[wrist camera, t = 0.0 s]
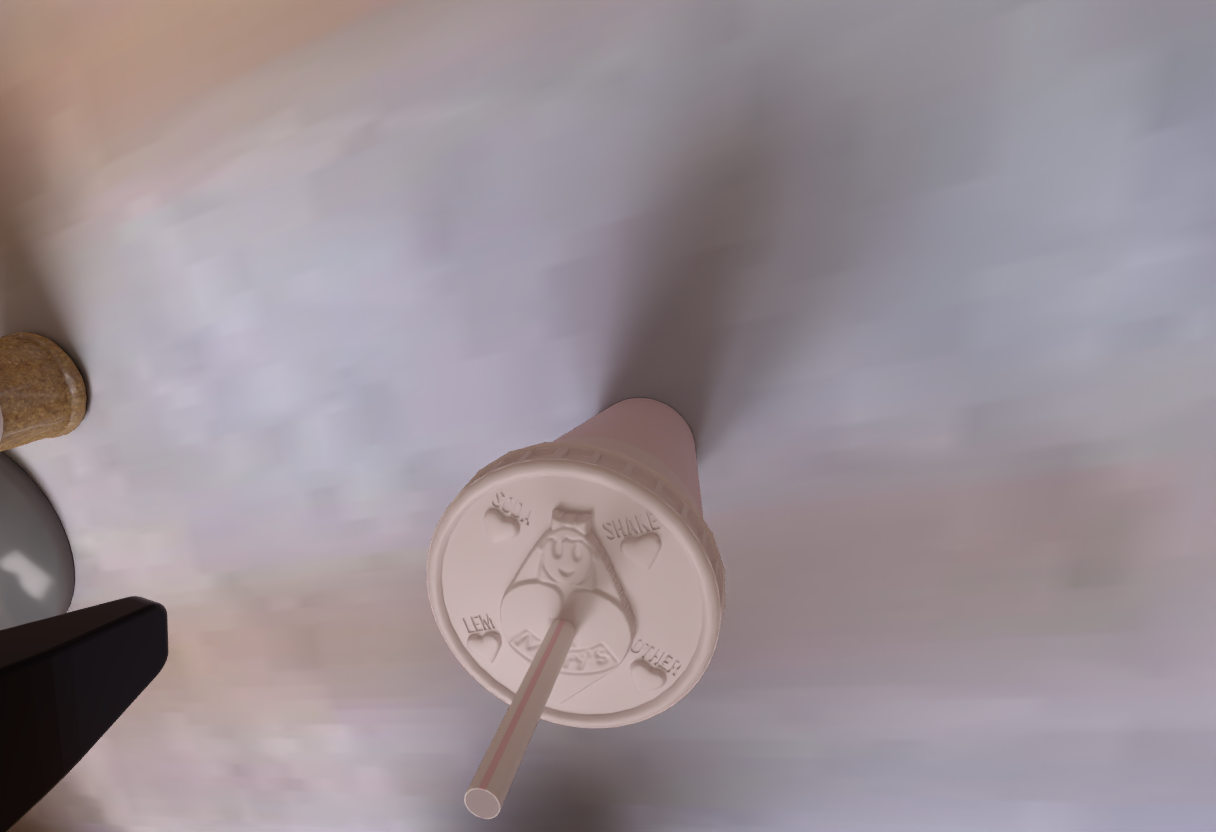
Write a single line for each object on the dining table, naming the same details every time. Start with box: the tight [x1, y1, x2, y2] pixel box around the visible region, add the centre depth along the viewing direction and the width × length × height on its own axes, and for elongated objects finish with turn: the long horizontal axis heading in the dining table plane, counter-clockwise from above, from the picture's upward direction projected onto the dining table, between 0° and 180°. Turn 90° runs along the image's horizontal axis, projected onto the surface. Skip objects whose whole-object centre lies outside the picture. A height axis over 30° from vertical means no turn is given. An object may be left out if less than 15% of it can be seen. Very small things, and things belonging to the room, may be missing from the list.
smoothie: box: [426, 398, 725, 819], centre depth 16 cm, size 6×6×14 cm
